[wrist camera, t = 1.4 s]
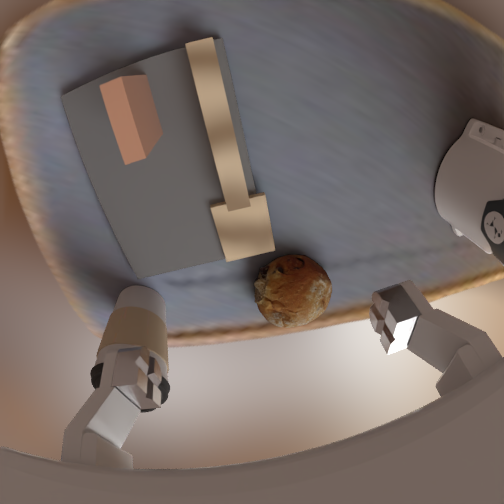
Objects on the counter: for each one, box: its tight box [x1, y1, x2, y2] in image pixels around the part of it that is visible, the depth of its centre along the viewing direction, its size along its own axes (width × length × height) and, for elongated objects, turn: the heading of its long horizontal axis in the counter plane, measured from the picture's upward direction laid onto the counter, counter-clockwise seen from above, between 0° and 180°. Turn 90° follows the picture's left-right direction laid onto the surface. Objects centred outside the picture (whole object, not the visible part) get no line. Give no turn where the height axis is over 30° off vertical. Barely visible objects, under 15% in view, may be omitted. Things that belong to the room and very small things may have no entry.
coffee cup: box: [91, 286, 170, 412], centre depth 31 cm, size 9×9×15 cm
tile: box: [100, 75, 163, 165], centre depth 19 cm, size 2×6×8 cm, turn 11°
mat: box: [61, 38, 256, 279], centre depth 27 cm, size 16×23×1 cm
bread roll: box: [254, 255, 332, 328], centre depth 37 cm, size 10×10×8 cm
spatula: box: [185, 37, 275, 262], centre depth 26 cm, size 23×6×2 cm, turn 10°
